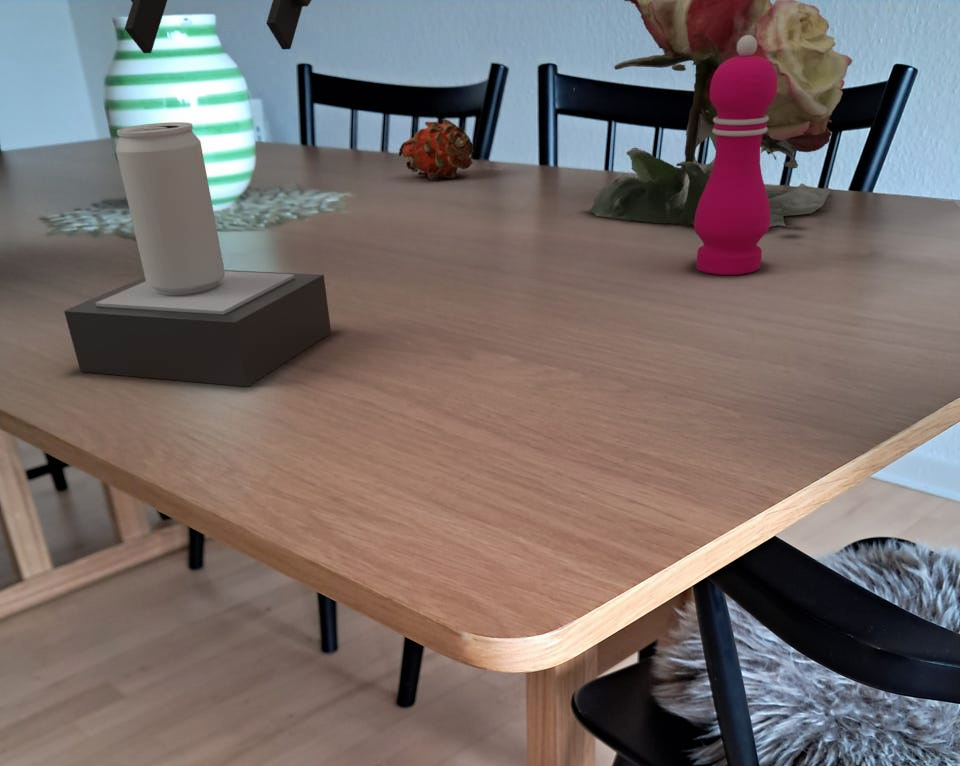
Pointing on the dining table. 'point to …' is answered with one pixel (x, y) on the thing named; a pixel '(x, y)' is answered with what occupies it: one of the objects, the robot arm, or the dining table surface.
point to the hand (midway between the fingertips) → (206, 39)
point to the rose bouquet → (709, 42)
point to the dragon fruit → (438, 150)
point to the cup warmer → (201, 328)
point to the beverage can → (170, 207)
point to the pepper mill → (736, 166)
